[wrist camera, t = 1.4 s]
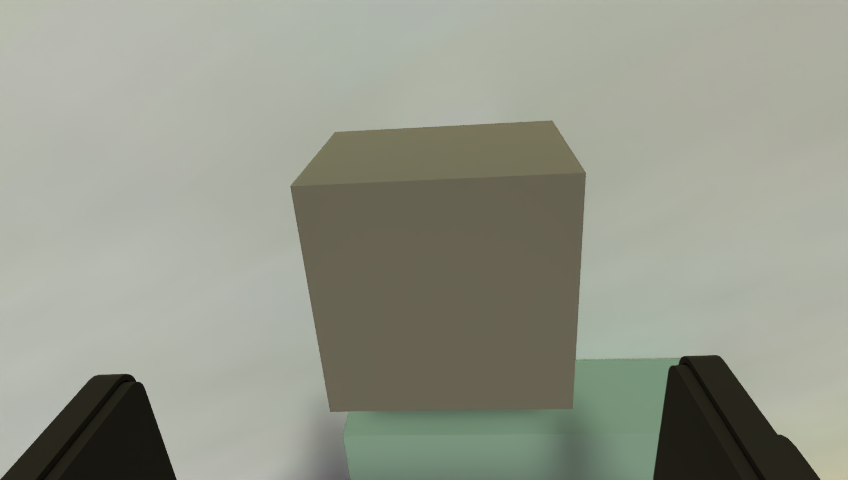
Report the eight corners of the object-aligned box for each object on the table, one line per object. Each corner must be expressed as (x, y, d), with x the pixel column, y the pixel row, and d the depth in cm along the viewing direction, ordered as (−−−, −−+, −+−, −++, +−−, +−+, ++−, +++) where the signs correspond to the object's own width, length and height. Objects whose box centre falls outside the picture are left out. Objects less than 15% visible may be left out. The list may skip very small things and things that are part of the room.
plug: (535, 95, 20) (585, 173, 12) (533, 257, 23) (572, 409, 15) (357, 105, 21) (290, 186, 13) (375, 262, 24) (330, 411, 16)
